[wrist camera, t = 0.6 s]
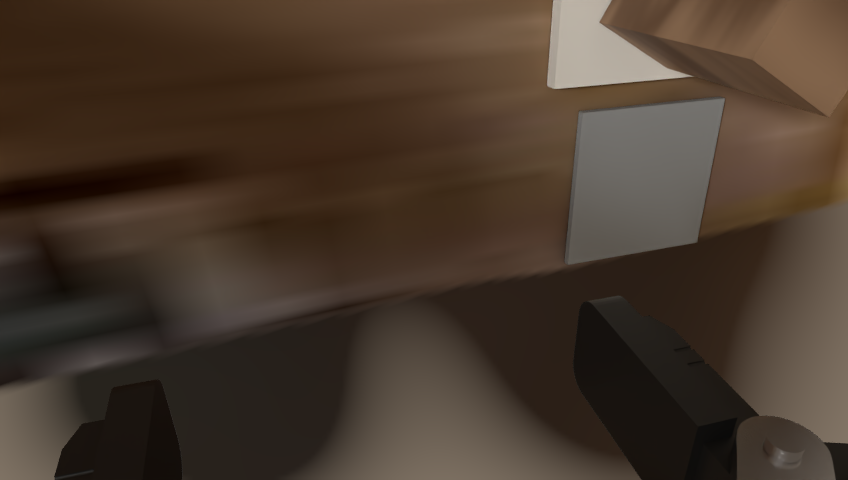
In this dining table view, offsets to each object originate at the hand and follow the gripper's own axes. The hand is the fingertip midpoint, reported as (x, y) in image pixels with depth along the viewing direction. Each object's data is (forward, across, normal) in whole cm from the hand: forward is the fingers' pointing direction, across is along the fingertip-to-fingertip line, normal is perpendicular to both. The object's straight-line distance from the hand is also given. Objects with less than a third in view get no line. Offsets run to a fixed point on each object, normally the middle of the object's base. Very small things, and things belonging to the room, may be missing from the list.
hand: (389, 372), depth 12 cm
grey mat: (+21, +19, -7) cm, 29 cm away
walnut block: (+20, +18, +3) cm, 27 cm away
